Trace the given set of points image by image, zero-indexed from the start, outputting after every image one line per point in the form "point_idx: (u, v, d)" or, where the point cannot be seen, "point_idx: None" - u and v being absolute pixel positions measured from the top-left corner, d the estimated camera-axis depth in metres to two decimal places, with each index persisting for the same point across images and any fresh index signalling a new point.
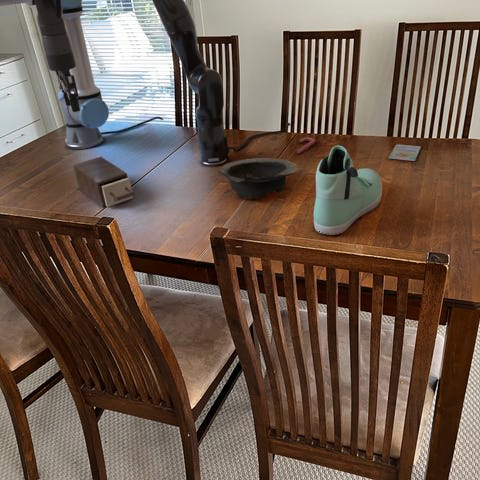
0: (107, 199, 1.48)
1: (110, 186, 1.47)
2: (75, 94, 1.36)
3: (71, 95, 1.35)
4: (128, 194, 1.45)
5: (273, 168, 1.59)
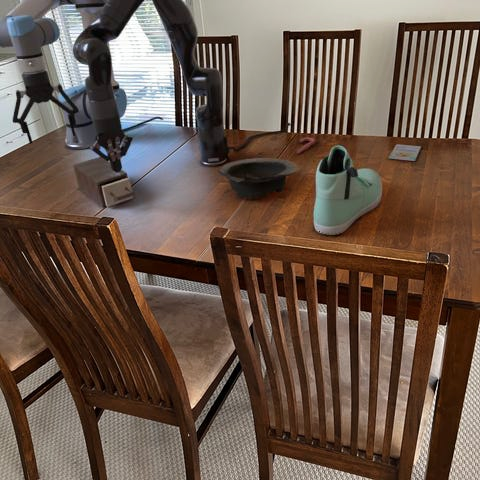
0: (107, 199, 1.48)
1: (110, 186, 1.47)
2: None
3: None
4: (128, 194, 1.45)
5: (273, 168, 1.59)
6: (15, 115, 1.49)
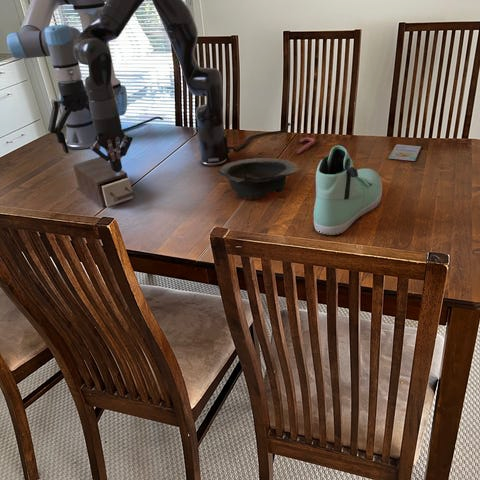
0: (107, 199, 1.48)
1: (110, 186, 1.47)
2: None
3: None
4: (128, 194, 1.45)
5: (273, 168, 1.59)
6: (53, 125, 1.48)
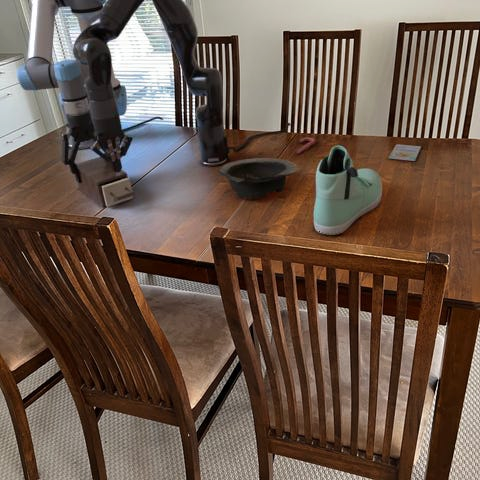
0: (107, 199, 1.48)
1: (110, 186, 1.47)
2: None
3: None
4: (128, 194, 1.45)
5: (273, 168, 1.59)
6: (66, 157, 1.54)
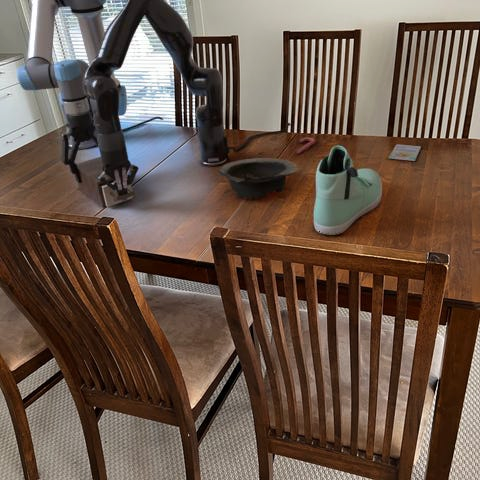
0: (107, 199, 1.48)
1: None
2: None
3: None
4: (128, 194, 1.45)
5: (273, 168, 1.59)
6: (66, 157, 1.54)
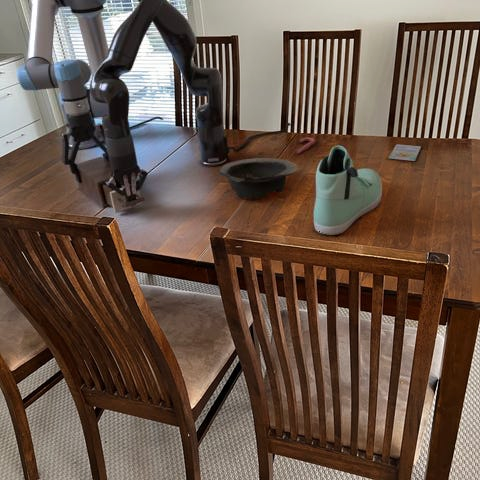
0: (115, 205, 1.44)
1: None
2: None
3: None
4: (137, 200, 1.41)
5: (273, 168, 1.59)
6: (66, 157, 1.54)
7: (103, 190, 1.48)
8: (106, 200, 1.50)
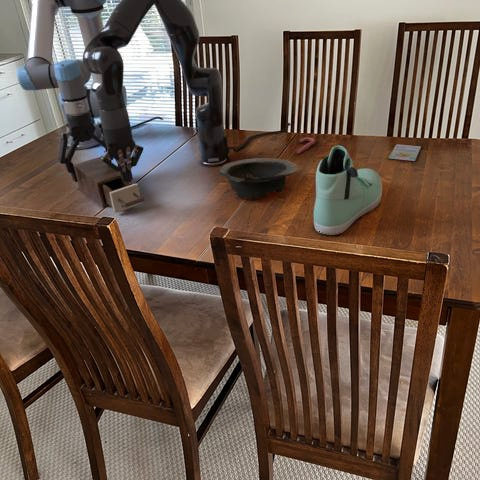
0: (115, 205, 1.44)
1: (118, 192, 1.43)
2: None
3: None
4: (137, 200, 1.41)
5: (273, 168, 1.59)
6: (63, 156, 1.53)
7: (103, 190, 1.48)
8: (106, 200, 1.50)
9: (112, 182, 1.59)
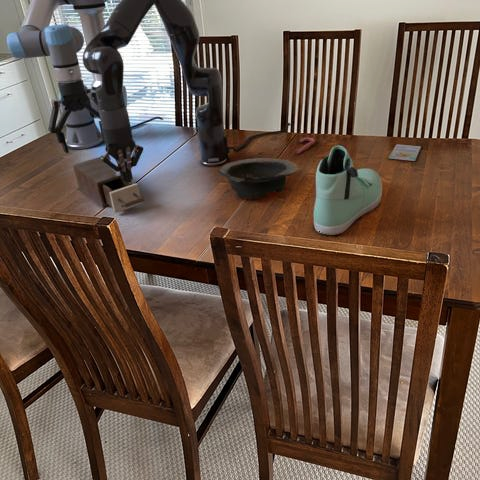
0: (115, 205, 1.44)
1: (118, 192, 1.43)
2: None
3: None
4: (137, 200, 1.41)
5: (273, 168, 1.59)
6: (53, 125, 1.48)
7: (103, 190, 1.48)
8: (106, 200, 1.50)
9: (112, 182, 1.59)
